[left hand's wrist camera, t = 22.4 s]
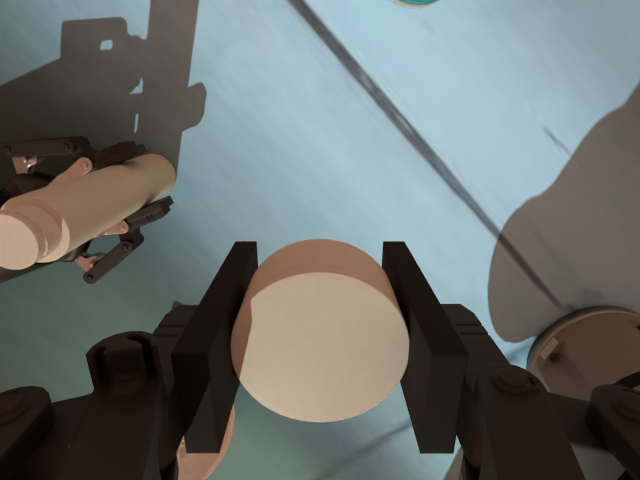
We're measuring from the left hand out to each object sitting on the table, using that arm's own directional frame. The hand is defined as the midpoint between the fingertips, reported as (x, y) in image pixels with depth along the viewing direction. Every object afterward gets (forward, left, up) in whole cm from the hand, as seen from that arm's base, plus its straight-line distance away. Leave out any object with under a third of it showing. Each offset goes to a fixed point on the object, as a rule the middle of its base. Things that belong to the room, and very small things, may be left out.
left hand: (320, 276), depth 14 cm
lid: (0, 0, +4) cm, 4 cm away
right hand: (+13, -6, -20) cm, 25 cm away
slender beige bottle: (+16, -6, -26) cm, 31 cm away
